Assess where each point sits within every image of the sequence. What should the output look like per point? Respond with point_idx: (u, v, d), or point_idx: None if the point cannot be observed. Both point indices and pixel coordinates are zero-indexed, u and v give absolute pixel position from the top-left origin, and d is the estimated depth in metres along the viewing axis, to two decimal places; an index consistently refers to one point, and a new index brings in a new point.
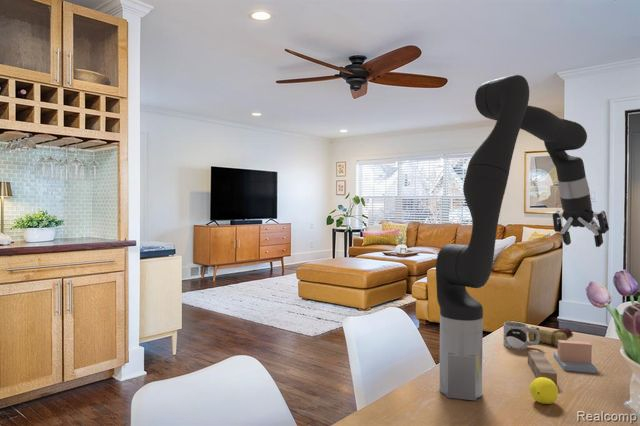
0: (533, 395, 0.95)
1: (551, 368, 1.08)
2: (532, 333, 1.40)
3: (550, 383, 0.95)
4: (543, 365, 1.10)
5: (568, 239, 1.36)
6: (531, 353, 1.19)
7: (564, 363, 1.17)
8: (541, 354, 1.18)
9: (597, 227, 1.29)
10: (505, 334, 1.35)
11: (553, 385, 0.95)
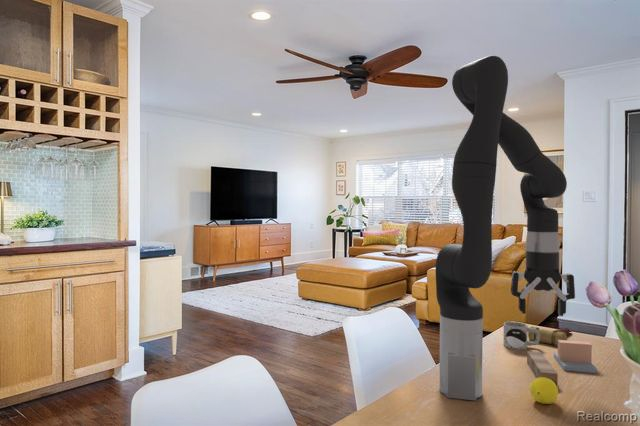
0: (533, 395, 0.95)
1: (551, 368, 1.08)
2: (532, 333, 1.40)
3: (550, 383, 0.95)
4: (543, 365, 1.10)
5: None
6: (531, 353, 1.19)
7: (564, 363, 1.17)
8: (540, 354, 1.18)
9: None
10: (505, 334, 1.35)
11: (553, 385, 0.95)
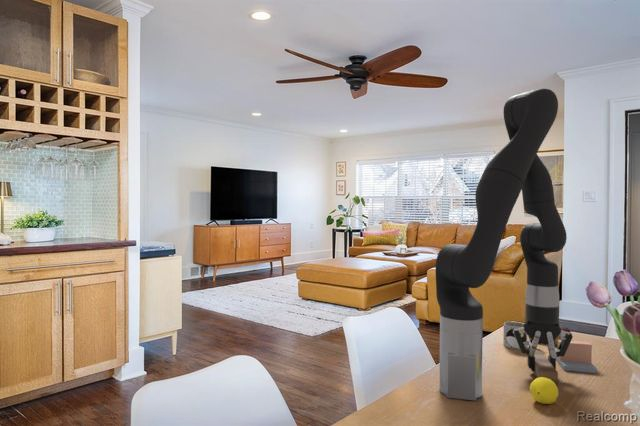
0: (533, 395, 0.95)
1: (552, 367, 1.08)
2: None
3: (550, 383, 0.95)
4: (544, 364, 1.10)
5: None
6: None
7: (564, 363, 1.17)
8: (541, 353, 1.18)
9: None
10: (505, 334, 1.35)
11: (553, 385, 0.95)
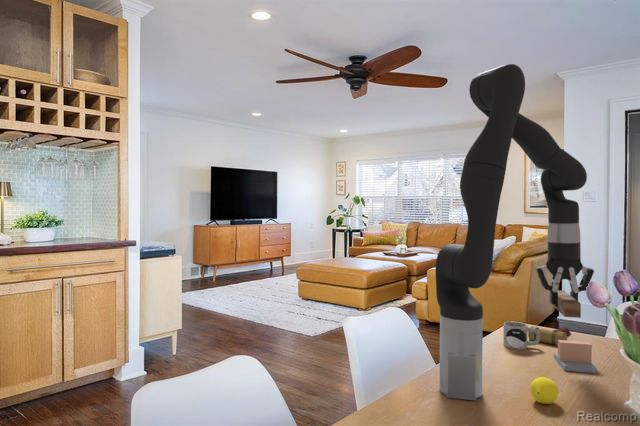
0: (533, 395, 0.95)
1: (574, 300, 1.12)
2: (532, 333, 1.41)
3: (550, 383, 0.95)
4: (566, 298, 1.14)
5: None
6: None
7: (564, 363, 1.17)
8: (563, 291, 1.22)
9: None
10: (505, 334, 1.35)
11: (553, 385, 0.95)
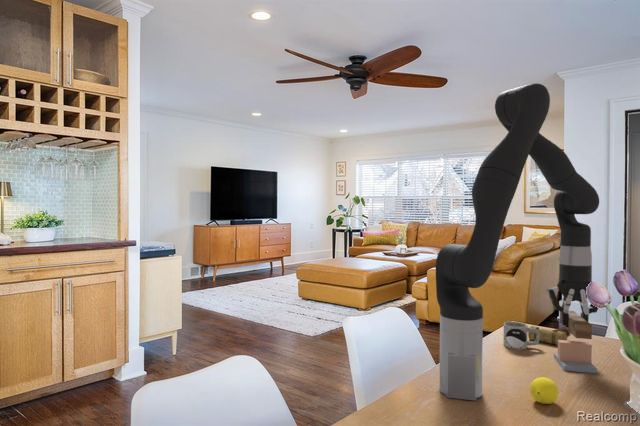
0: (533, 395, 0.95)
1: (585, 321, 1.15)
2: (532, 332, 1.41)
3: (550, 383, 0.95)
4: (577, 319, 1.17)
5: None
6: None
7: (564, 363, 1.17)
8: (573, 312, 1.25)
9: None
10: (505, 334, 1.35)
11: (553, 385, 0.95)
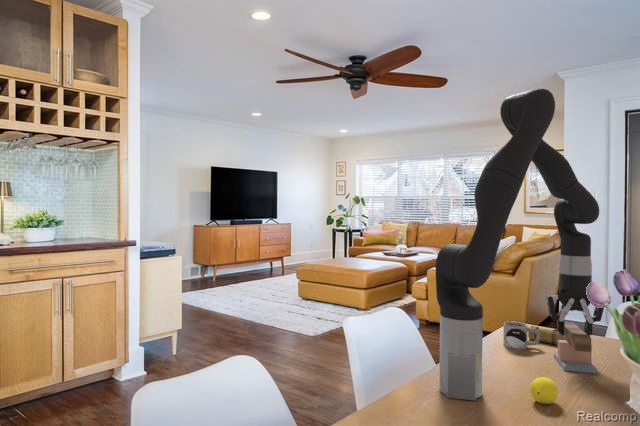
0: (533, 395, 0.95)
1: (585, 334, 1.15)
2: (532, 332, 1.41)
3: (550, 383, 0.95)
4: (577, 332, 1.17)
5: None
6: None
7: (564, 363, 1.17)
8: (573, 323, 1.25)
9: None
10: (505, 334, 1.35)
11: (553, 385, 0.95)
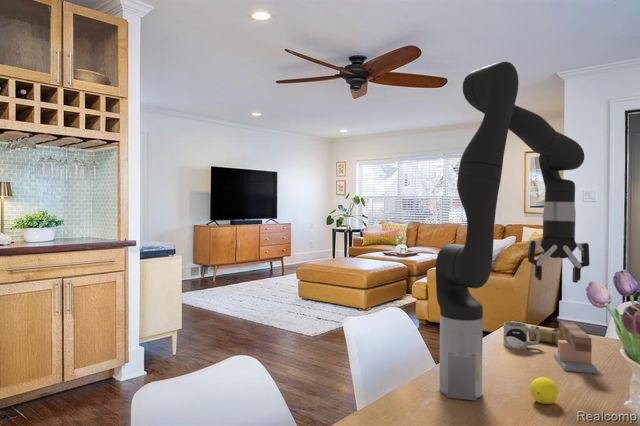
0: (533, 395, 0.95)
1: (585, 334, 1.15)
2: (532, 332, 1.41)
3: (550, 383, 0.95)
4: (577, 332, 1.17)
5: None
6: (563, 323, 1.26)
7: (564, 363, 1.17)
8: (573, 323, 1.25)
9: None
10: (505, 334, 1.35)
11: (553, 385, 0.95)
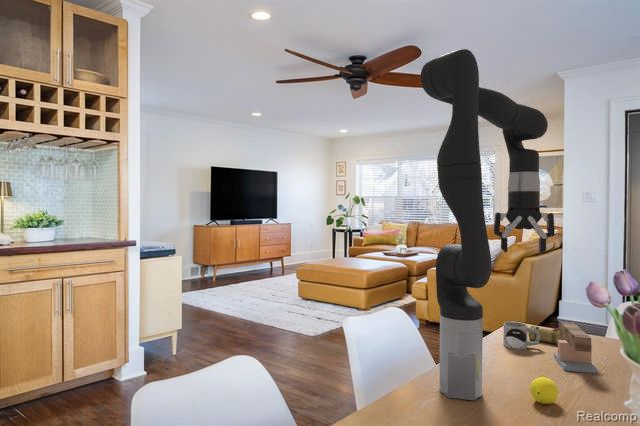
0: (533, 395, 0.95)
1: (585, 334, 1.15)
2: (532, 332, 1.41)
3: (550, 383, 0.95)
4: (577, 332, 1.17)
5: (506, 246, 1.17)
6: (563, 323, 1.26)
7: (564, 363, 1.17)
8: (573, 323, 1.25)
9: None
10: (505, 334, 1.35)
11: (553, 385, 0.95)
